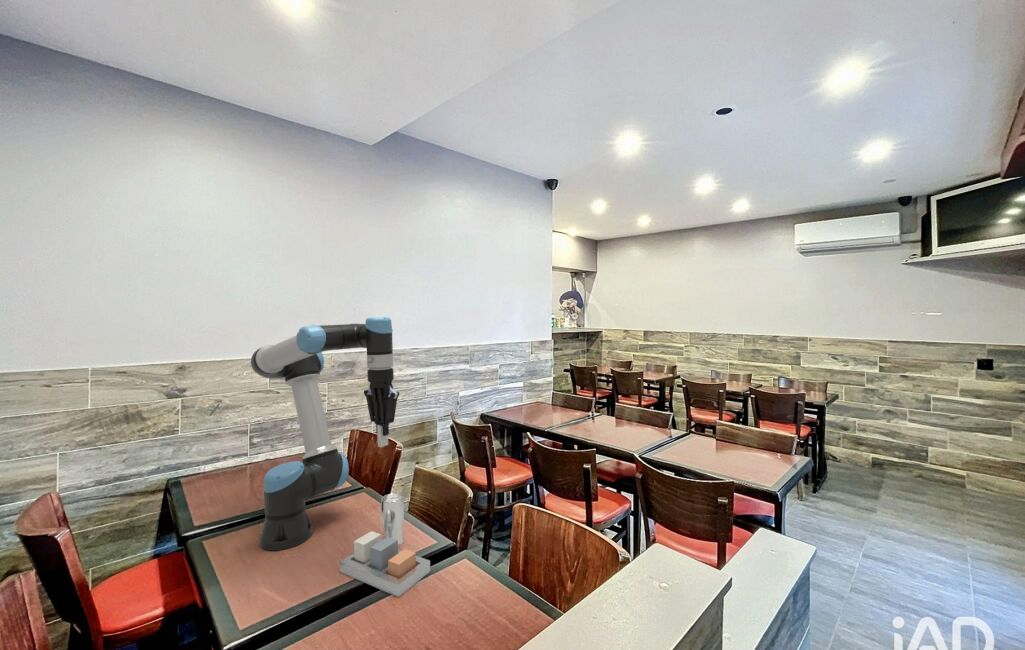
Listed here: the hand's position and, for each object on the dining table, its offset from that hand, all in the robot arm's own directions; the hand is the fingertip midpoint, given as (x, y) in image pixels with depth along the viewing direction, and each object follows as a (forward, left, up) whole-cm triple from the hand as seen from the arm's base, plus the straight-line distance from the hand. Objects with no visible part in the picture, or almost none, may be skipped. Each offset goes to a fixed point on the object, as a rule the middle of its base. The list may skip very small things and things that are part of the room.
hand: (383, 445), depth 129 cm
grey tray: (+9, -9, -32) cm, 35 cm away
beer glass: (0, +3, -33) cm, 33 cm away
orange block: (+16, -9, -30) cm, 35 cm away
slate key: (+9, -9, -29) cm, 31 cm away
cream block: (+2, -9, -29) cm, 30 cm away
